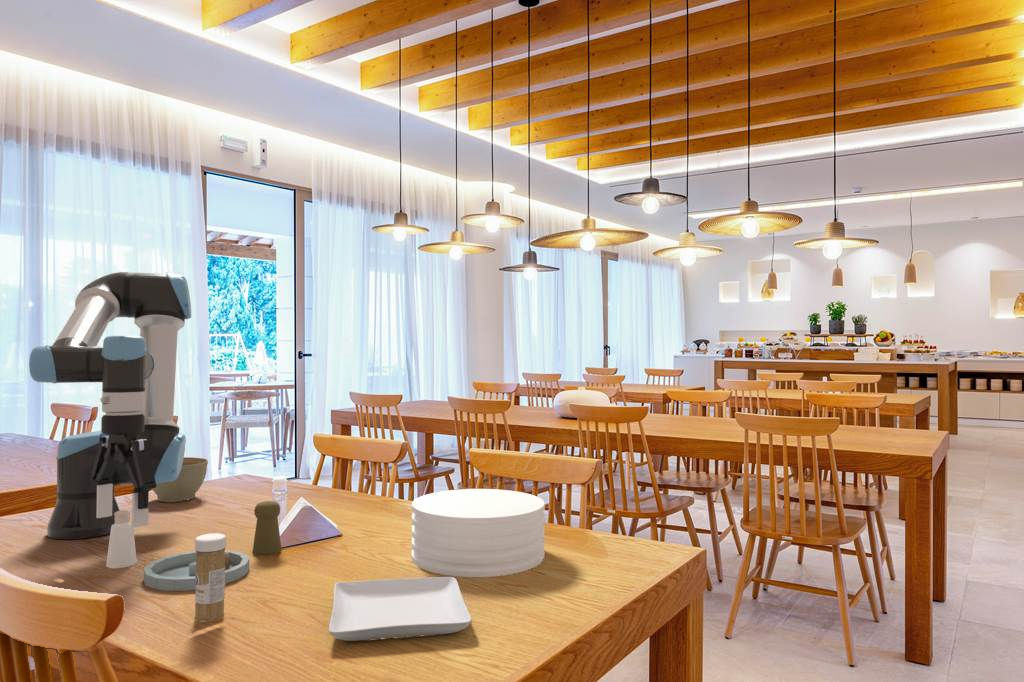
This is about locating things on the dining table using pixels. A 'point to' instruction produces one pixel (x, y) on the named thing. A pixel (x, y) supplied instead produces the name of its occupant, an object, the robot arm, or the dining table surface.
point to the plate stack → (478, 532)
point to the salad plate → (397, 608)
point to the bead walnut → (227, 560)
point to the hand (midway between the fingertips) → (121, 521)
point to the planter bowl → (183, 481)
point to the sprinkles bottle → (210, 577)
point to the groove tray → (188, 571)
